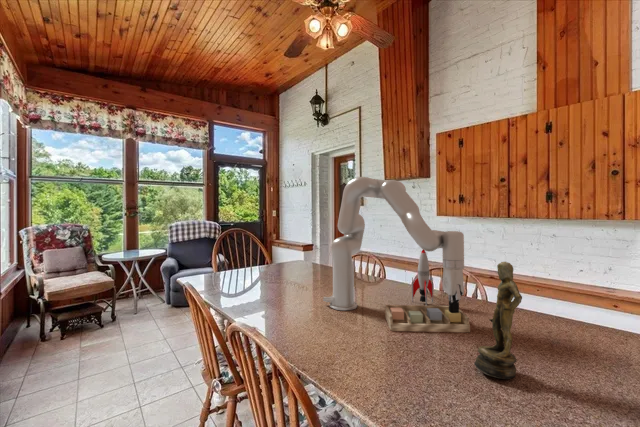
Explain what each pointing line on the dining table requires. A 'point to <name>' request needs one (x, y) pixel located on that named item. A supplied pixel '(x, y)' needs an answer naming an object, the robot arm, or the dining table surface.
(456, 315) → the key mustard
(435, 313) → the key slate
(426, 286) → the toy
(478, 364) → the statue
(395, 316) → the key terracotta
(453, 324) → the tray
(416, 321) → the key sage
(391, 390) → the dining table surface
